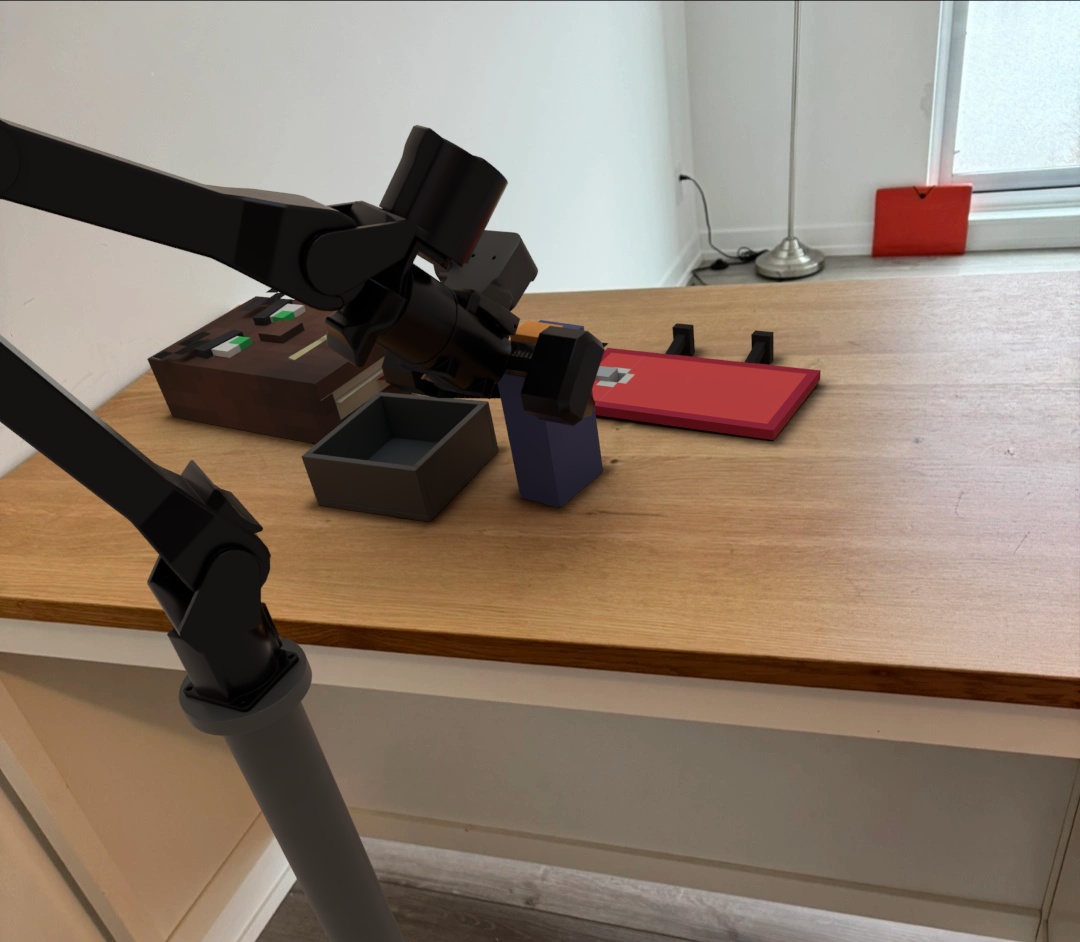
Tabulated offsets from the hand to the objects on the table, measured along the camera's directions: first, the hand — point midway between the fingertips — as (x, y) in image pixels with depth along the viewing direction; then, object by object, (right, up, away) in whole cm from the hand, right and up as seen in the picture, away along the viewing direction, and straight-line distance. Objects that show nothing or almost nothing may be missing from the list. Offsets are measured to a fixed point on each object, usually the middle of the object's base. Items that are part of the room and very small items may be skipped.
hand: (546, 400), depth 83 cm
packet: (+1, -6, +5) cm, 8 cm away
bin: (-13, -4, +11) cm, 17 cm away
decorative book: (-27, +9, +29) cm, 40 cm away
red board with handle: (+11, +6, +17) cm, 21 cm away
